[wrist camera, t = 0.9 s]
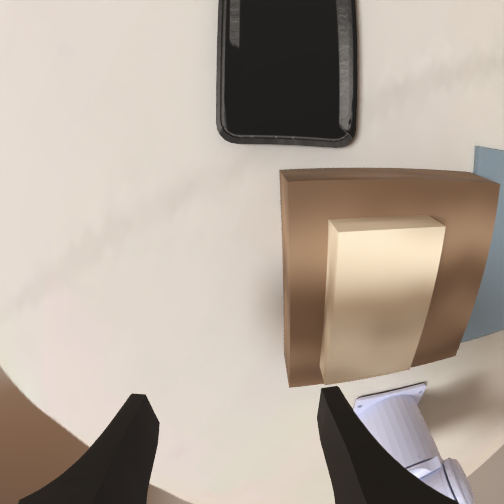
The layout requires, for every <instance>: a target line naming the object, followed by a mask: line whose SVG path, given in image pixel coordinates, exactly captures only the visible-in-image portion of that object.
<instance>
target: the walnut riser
mask: <svg viewBox="0 0 504 504" xmlns="http://www.w3.org/2000/svg"><path fill="white" fill-rule="evenodd" d="M279 172H280V194H281V219H282V249H283V290H284V356H285V363H286V369H287V376H288V382H289V388H290V387H300V386H308V385H317V384H324V380H323V377H322V373H321V369H320V356H321V345H322V334H323V322H324V309H325V294H326V276H327V254H328V220H329V219H349V218H370V217H394V216H423V215H429V216H430V217H432V218H433V219H435V220H437V221H438V222H440V223H441V224H443V225H444V226H446V228H445V235H444V241H443V246H442V252H441V257H440V262H439V267H438V272H437V277H436V281H435V286H434V290H433V294H432V298H431V302H430V306H429V309H428V313H427V317H426V320H425V324H424V327H423V330H422V334H421V337H420V340H419V343H418V346H417V349H416V352H415V355H414V358H413V361H412V364H411V367H415V366H419V365H423V364H427V363H431V362H435V361H438V360H442V359H446V358H449V357H453V356H455V355H456V353H457V350H458V348H459V345H460V343H461V340H462V338H463V335H464V333H465V330H466V327H467V324H468V322H469V319H470V316H471V313H472V310H473V307H474V304H475V301H476V298H477V294H478V291H479V288H480V284H481V281H482V277H483V274H484V270H485V266H486V262H487V258H488V253H489V249H490V244H491V240H492V235H493V230H494V224H495V218H496V212H497V206H498V199H499V191H500V184H499V183H496V182H494V181H491V180H489V179H486V178H483V177H481V176H478V175H475V174H473V173H470V172H460V171H445V170H427V169H401V168H318V169H290V170H279ZM411 367H410V368H411Z"/></svg>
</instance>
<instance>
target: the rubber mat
mask: <svg viewBox="0 0 504 504" xmlns="http://www.w3.org/2000/svg"><path fill="white" fill-rule="evenodd" d="M474 174H475V175H478V176H481V177H483V178H486V179H489V180H491V181H494V182H496V183H499V184H500V191H499V199H498V206H497V212H496V218H495V224H494V230H493V235H492V240H491V244H490V249H489V253H488V258H487V262H486V266H485V270H484V274H483V277H482V281H481V284H480V288H479V291H478V294H477V298H476V301H475V304H474V307H473V310H472V313H471V316H470V319H469V322H468V324H467V327H466V330H465V333H464V335H463V338H462V340H461V343H462V342H466V341H469V340H472V339H476V338H479V337H482V336H485V335H488V334H491V333H494V332H497V331H500V330H503V329H504V151H502V150H497V149H491V148H485V147H479V146H475V162H474Z"/></svg>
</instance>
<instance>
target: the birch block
mask: <svg viewBox="0 0 504 504" xmlns="http://www.w3.org/2000/svg"><path fill="white" fill-rule="evenodd" d="M445 228H446V226H444V225H443V224H441V223H440V222H438V221H437V220H435V219H433V218H432V217H430V216H429V215H423V216H394V217H370V218H349V219H329V220H328V254H327V276H326V294H325V309H324V322H323V334H322V345H321V356H320V369H321V373H322V377H323V380H324V384H325V385H328V384H335V383H341V382H348V381H354V380H360V379H365V378H371V377H376V376H381V375H386V374H391V373H395V372H400V371H404V370H409V369H410V367H411V364H412V361H413V358H414V355H415V352H416V349H417V346H418V343H419V340H420V337H421V334H422V330H423V327H424V324H425V320H426V317H427V313H428V309H429V306H430V302H431V298H432V294H433V290H434V286H435V281H436V277H437V272H438V267H439V262H440V257H441V252H442V246H443V241H444V235H445Z"/></svg>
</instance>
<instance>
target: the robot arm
mask: <svg viewBox="0 0 504 504" xmlns="http://www.w3.org/2000/svg"><path fill="white" fill-rule="evenodd" d="M425 389H426V385H425V383H422V384H418V385H415V386H411V387H407V388H403V389H399V390H394V391H390V392H386V393H381V394H376V395H371V396H366V397H361V398H359V399H357V400H356V402H355V406H354V409H352V407H351V406H350V404H349V403H348V401H347V400H346V398H345V397H344V395H343V393H342V392H341V390H340V388H339V387H338V386H334V387H327V388H321V395H320V402H319V408H318V415H317V421H318V428H319V435H320V441H321V445H322V448H323V452H324V456H325V459H326V463H327V467H328V471H329V474H330V478H331V482H332V486H333V491H334V497H335V504H475V500H474V496H473V493H472V490H471V487H470V485H469V482H468V480H467V478H466V475H465V473H464V471H463V469H462V467H461V466H460V464H459V462H458V461H457V460H456V459H451V458H448V459H446V460H445V461H444V460H443V459H442V458H441V456H440V454H439V451H438V449H437V447H436V444H435V442H434V440H433V438H432V435H431V433H430V431H429V429H428V427H427V424H426V422H425V420H424V418H423V416H422V414H421V412H420V409H419V407H418V403H419V401H420V399H421V397H422V395H423V393H424V391H425ZM159 424H160V423H159V421H158V419H157V417H156V415H155V413H154V411H153V409H152V407H151V405H150V403H149V401H148V398H147V396H146V395H144V394H131V395H130V396H129V398H128V399H127V401H126V402H125V403H124V405H123V406H122V408H121V409H120V410H119V412H118V413H117V414H116V416H115V417H114V419H113V420H112V421H111V423H110V424H109V425H108V426H107V428H106V429H105V430H104V432H103V433H102V434H101V435H100V437H99V438H98V439H97V440H96V441H95V442H94V444H93V445H92V446H91V447H90V448H89V449H88V450H87V451H86V453H85V454H84V455H83V456H82V457H81V458H80V459H79V460H78V461H77V462H76V463H74V464H73V465H72V466H71V467H70V468H69V469H68V470H66V471H65V472H64V473H63V474H62V475H61V476H59V477H58V478H56V479H55V480H53V481H52V482H50V483H49V484H47V485H46V486H44V487H43V488H41V489H40V490H38V491H36V492H34V493H32V494H31V495H28V496H27V497H25V498H23V499H20V500H19V503H18V504H146V500H147V491H148V485H149V481H150V476H151V472H152V467H153V463H154V459H155V454H156V450H157V445H158V436H159Z"/></svg>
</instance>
